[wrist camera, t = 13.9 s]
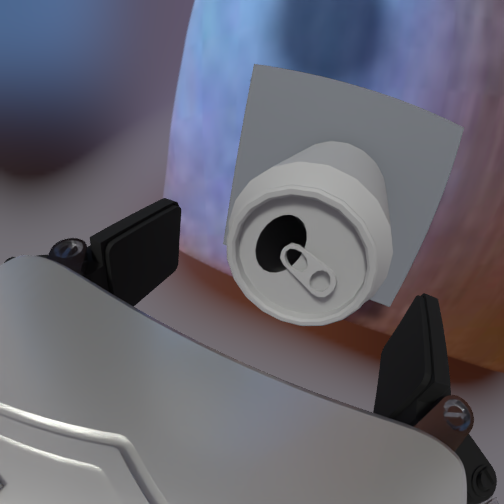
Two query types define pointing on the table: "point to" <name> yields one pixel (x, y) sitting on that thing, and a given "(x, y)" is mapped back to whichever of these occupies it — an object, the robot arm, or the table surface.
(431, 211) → the grey block
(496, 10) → the table surface
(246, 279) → the can
